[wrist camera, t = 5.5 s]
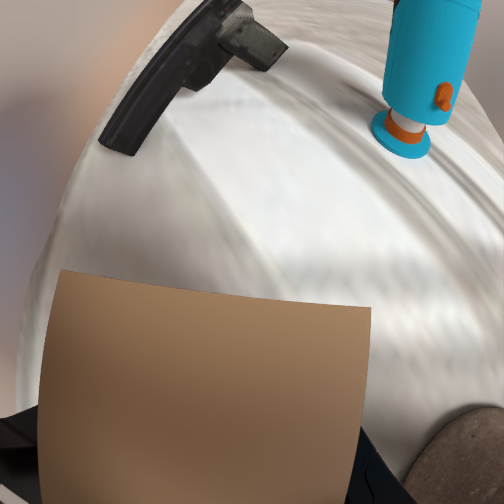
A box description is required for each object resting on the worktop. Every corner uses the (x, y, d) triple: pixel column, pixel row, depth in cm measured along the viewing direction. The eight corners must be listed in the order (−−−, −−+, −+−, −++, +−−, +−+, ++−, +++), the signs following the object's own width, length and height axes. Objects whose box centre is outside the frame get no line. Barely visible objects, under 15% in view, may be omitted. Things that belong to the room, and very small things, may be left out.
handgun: (177, 167, 40) (95, 137, 27) (276, 42, 34) (227, -26, 20) (186, 175, 40) (103, 146, 26) (288, 47, 33) (242, -24, 20)
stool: (289, 447, 13) (313, 588, 2) (187, 431, 14) (43, 510, 3) (302, 349, 15) (371, 307, 4) (200, 337, 16) (61, 269, 5)
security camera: (446, -31, 11) (521, 15, 7) (406, 105, 31) (445, 162, 27) (378, -52, 11) (459, -18, 7) (352, 107, 31) (390, 169, 27)
